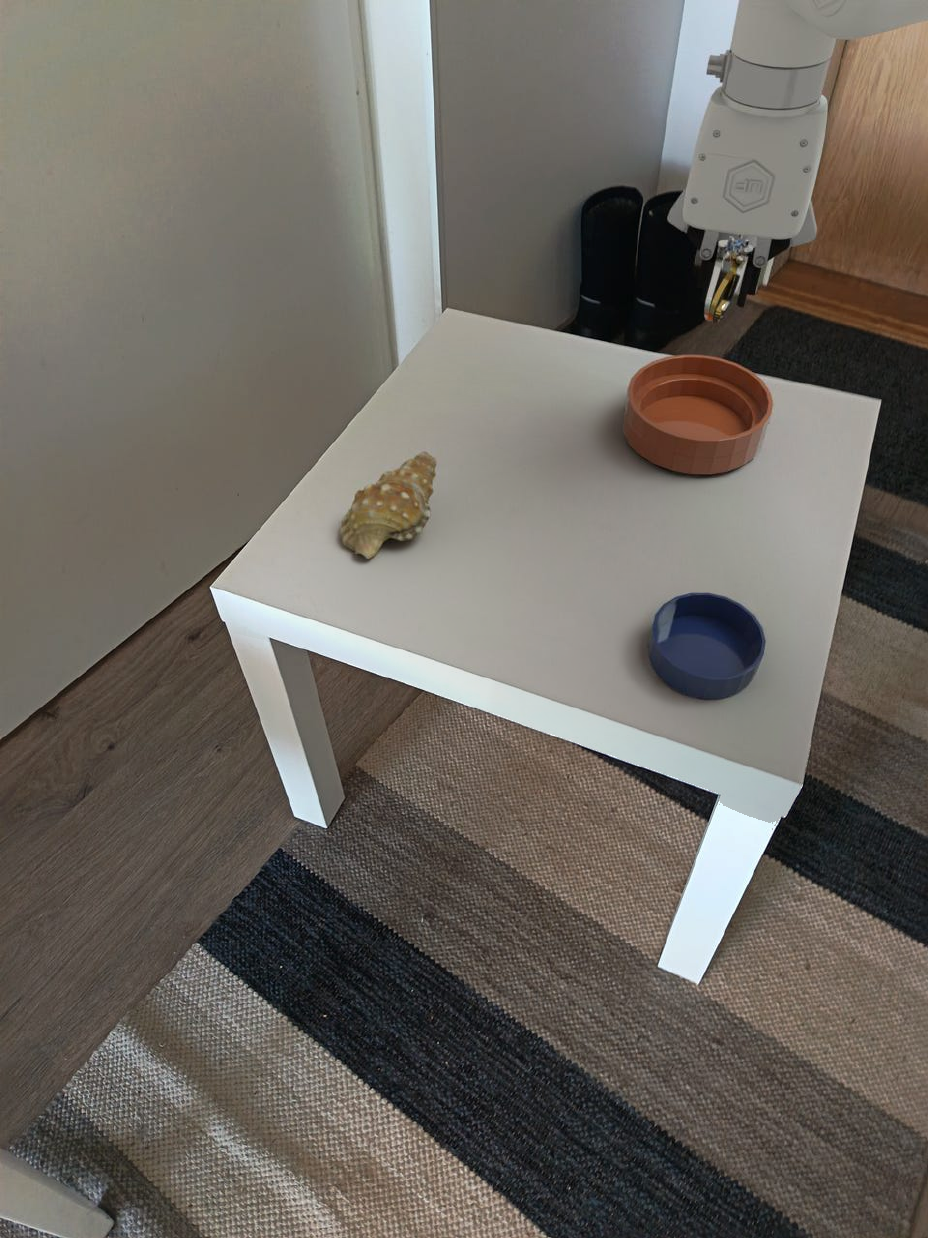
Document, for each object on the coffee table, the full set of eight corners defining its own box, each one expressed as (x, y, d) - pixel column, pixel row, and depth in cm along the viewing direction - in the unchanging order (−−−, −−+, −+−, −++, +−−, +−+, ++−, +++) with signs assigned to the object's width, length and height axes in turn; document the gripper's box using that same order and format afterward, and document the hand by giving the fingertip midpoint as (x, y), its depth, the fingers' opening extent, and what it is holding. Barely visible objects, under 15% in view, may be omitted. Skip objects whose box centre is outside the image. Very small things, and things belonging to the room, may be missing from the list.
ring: (715, 342, 80) (737, 260, 74) (684, 330, 82) (703, 249, 75) (747, 308, 84) (770, 228, 78) (717, 298, 85) (737, 218, 79)
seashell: (363, 520, 92) (389, 432, 87) (431, 551, 90) (460, 463, 86) (323, 544, 83) (349, 449, 79) (397, 578, 82) (427, 483, 78)
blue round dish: (762, 628, 77) (771, 606, 75) (749, 712, 72) (758, 691, 69) (658, 603, 79) (663, 582, 77) (637, 683, 74) (642, 662, 71)
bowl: (768, 405, 97) (780, 367, 94) (751, 491, 88) (763, 453, 85) (637, 382, 101) (643, 344, 97) (609, 462, 92) (614, 424, 88)
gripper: (661, 85, 66) (630, 304, 80) (882, 107, 63) (809, 332, 77) (678, 52, 71) (646, 265, 85) (885, 70, 67) (816, 289, 81)
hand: (724, 295), depth 81 cm, fingers closed on ring, 2 cm apart
